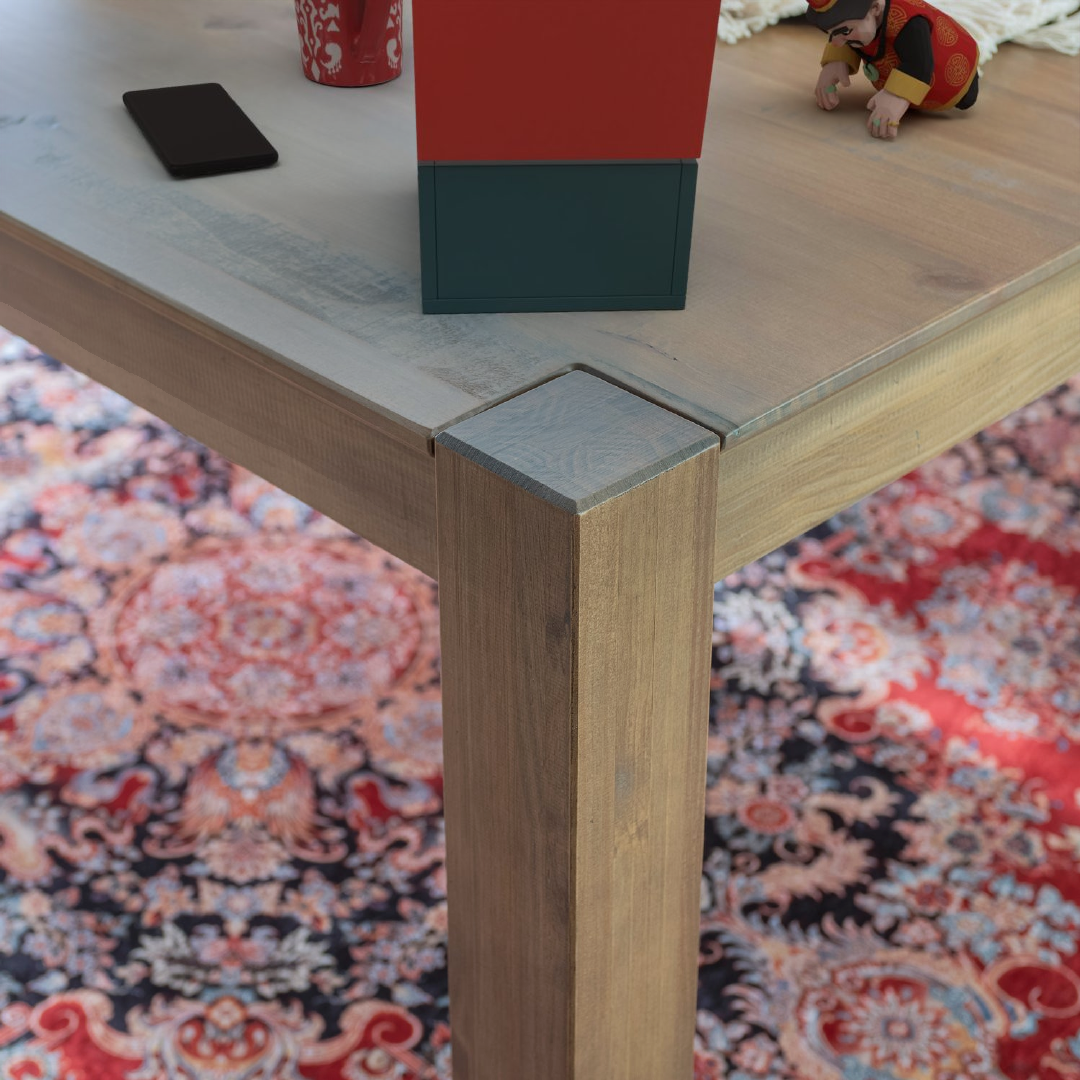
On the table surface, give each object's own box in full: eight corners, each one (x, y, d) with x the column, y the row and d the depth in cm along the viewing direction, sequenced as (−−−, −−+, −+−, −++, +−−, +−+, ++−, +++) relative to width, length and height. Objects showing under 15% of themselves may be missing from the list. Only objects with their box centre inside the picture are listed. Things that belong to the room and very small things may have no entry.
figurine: (860, 144, 102) (722, 67, 93) (920, 20, 100) (785, -72, 91) (952, 177, 95) (813, 97, 86) (1020, 43, 93) (885, -54, 83)
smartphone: (219, 81, 96) (281, 152, 85) (220, 92, 97) (282, 166, 86) (119, 91, 94) (169, 166, 83) (121, 103, 94) (171, 180, 83)
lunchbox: (419, 189, 83) (415, 59, 79) (640, 187, 84) (649, 58, 80) (422, 314, 70) (417, 166, 65) (685, 309, 71) (698, 163, 66)
